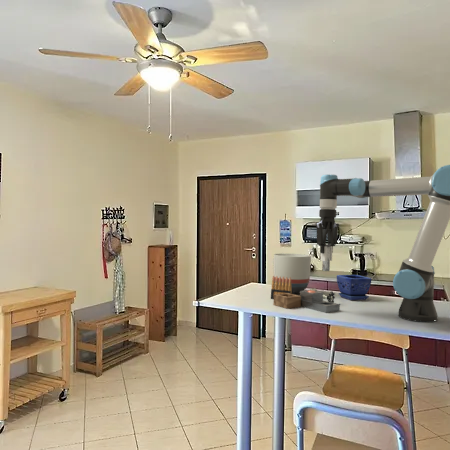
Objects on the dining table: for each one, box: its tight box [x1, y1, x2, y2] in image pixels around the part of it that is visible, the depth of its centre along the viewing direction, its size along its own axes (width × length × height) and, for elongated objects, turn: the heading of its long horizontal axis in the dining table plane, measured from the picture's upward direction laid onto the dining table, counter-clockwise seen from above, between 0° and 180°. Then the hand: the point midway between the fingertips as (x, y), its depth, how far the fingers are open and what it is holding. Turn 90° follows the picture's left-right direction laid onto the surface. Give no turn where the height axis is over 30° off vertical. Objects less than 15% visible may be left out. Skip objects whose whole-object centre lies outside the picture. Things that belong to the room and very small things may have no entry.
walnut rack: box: [272, 293, 301, 310], centre depth 191 cm, size 9×9×5 cm
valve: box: [309, 288, 336, 303], centre depth 200 cm, size 7×7×12 cm
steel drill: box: [321, 243, 331, 272], centre depth 184 cm, size 3×3×12 cm
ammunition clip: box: [270, 275, 292, 300], centre depth 206 cm, size 11×2×12 cm, turn 65°
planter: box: [273, 252, 312, 295], centre depth 225 cm, size 20×20×21 cm
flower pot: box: [336, 274, 372, 301], centre depth 214 cm, size 13×13×12 cm
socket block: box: [299, 289, 341, 314], centre depth 188 cm, size 18×9×7 cm, turn 35°
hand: (326, 260), depth 184 cm, fingers closed on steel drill, 3 cm apart
